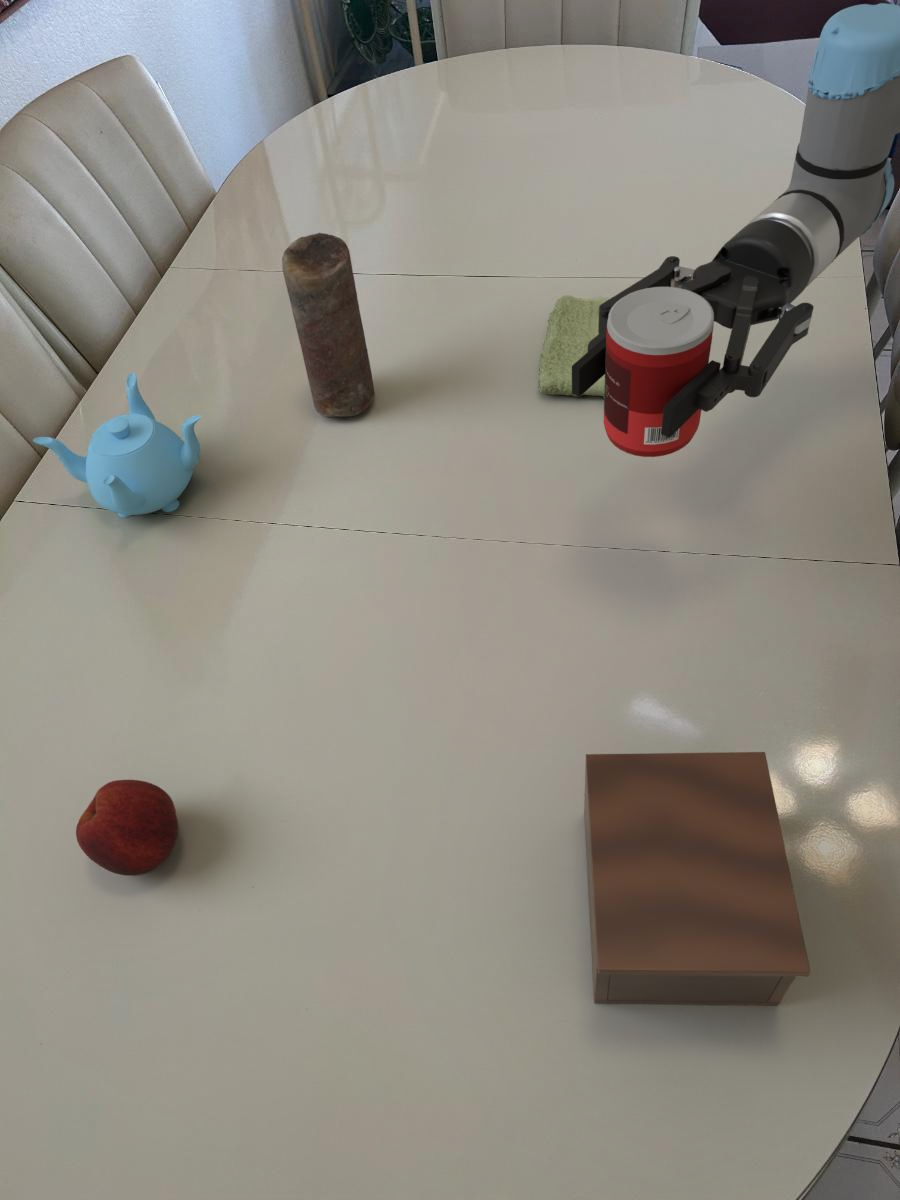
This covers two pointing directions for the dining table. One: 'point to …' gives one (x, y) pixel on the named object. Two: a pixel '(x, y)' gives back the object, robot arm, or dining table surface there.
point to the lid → (690, 867)
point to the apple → (128, 827)
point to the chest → (676, 986)
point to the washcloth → (569, 344)
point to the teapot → (134, 459)
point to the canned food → (653, 365)
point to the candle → (329, 324)
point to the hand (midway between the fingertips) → (620, 401)
